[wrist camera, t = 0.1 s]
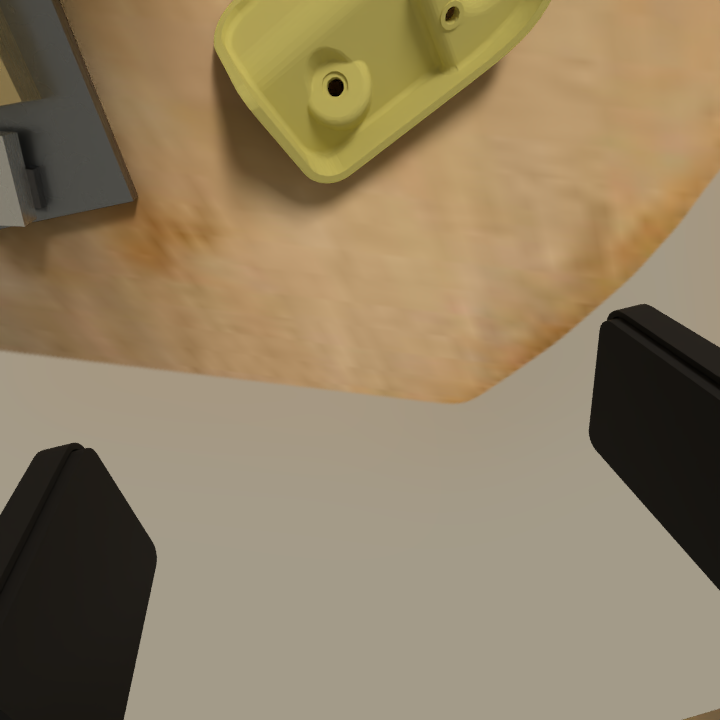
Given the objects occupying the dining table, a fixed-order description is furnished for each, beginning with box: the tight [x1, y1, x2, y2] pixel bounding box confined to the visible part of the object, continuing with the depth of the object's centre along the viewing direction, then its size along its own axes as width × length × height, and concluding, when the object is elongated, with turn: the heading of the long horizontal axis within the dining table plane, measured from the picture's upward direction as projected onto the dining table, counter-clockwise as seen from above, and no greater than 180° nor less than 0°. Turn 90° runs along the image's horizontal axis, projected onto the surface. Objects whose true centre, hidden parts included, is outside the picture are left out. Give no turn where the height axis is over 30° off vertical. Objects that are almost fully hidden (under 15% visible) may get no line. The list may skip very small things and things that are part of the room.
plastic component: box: [214, 0, 551, 183], centre depth 30 cm, size 20×7×10 cm
